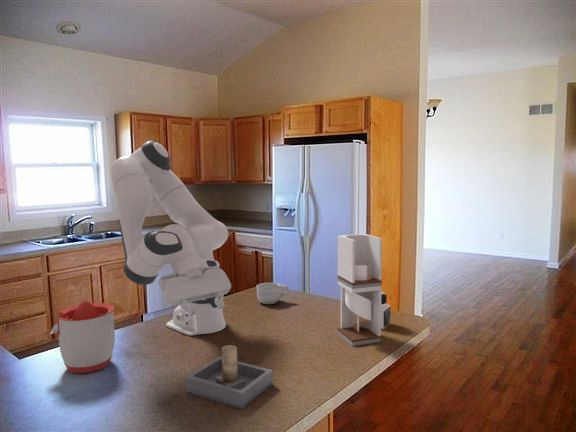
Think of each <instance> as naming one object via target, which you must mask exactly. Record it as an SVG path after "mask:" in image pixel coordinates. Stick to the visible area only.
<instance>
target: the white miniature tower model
mask: <svg viewBox="0 0 576 432" xmlns="http://www.w3.org/2000/svg"><path fill="white" fill-rule="evenodd" d="M382 264H383V238H381V237H377V236H375V235H371V234H367V233H358V234H357V233H355V234H354V233H353V234H343V235H342V234H341V235H340V234H338V235H337V285H338V286H339V287H340V327H337V335H338V336H339V337H341V338H342V339H343V340H344V341H346V342H347V343H348V344H349V345H350V346H351V347H354V346H361V345H368V344H374V343H380V342H382V329H381V292H382V284H383V283H382V281H383V280H382V279H383V278H382V277H383V275H382V273H383V272H382V271H383V269H382V268H383V267H382V266H383V265H382Z"/></svg>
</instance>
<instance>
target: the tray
mask: <svg viewBox="0 0 576 432" xmlns="http://www.w3.org/2000/svg"><path fill="white" fill-rule="evenodd" d="M237 367H238V376H239V377H240V378H242V379H244V380H245V385H246V386H245V387H242V388H239V389H235V388H231V387H228V386H225V385H221V384H218V383H216V381H215V377H217V376H220V375H223V374H222V356H218V357H216V358H214V359H213V360H212V361H210V362H208V363H206V364H205V365H203V366H202V367H200V368H198V369H196V371H193V372H192V373H190V374H188V375H187V376H186V377H185V389H186V392H187V393H191V394H193V395H197V396H198V397H199V396H200V397H203V398H206V399H209V400H213V401H216V402H219V403H222V404H224V405H227V406H230V407H234V408H237V409H240V410H243V409H244V408H246V407H248V405H249V404H250V403H252V402H253V401H254V400H255V399H256V398H258V397H259V396H260V395H261V394H263V393H264V392H265V391H267V390H268V389H269V388H270V387H271V386H272V385H273V369H268V368H265V367H261V366H257V365H254V364H250V363H249V364H248V363H246V362H241V361H238V360H237Z"/></svg>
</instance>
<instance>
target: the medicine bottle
mask: <svg viewBox="0 0 576 432" xmlns="http://www.w3.org/2000/svg"><path fill="white" fill-rule="evenodd" d="M387 297H388V296H387V294H386V293H385V292H382V291H381V330H385V329H386V328H387V327H388V326H389V325H390V324H391V304H387V303H388V300H387V299H388V298H387Z"/></svg>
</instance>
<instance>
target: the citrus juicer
mask: <svg viewBox="0 0 576 432" xmlns="http://www.w3.org/2000/svg"><path fill="white" fill-rule="evenodd" d="M114 310H115V307H114V305H112V304H110V303H105V302H91V303H90V301H87V300H84V301H82V303H80V304H77V305H72V306H69V307H66V308H64V309H61V310H60V311H59V312H58V313H59V314H58V315H59V317H57V323H56V324H54V325H53V326H52V329H51V331H50V333H49V334H50V335H53V334H57V335H58V344H59V345H58V346H59V350H60V356H61V359H62V360H63V364H64V365H65V366H64V367H66V369H67V370H68V371H69V372H70V373H73V374H88V373H92V372H96V371H99V370H102V369H104V368H105V367H107V366H108V365H109V364H110V362H111V360H112V357H113V352H114V348H115V340H116V335H115V316H114V314H115V313H114Z"/></svg>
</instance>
